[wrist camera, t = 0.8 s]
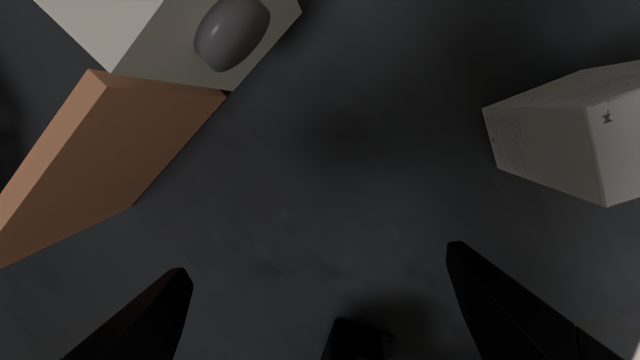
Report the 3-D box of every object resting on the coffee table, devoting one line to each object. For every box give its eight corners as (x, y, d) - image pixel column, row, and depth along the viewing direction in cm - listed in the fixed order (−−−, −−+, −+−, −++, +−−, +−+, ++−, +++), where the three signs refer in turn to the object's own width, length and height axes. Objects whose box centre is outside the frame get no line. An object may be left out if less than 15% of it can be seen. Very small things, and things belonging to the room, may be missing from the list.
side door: (227, 97, 25) (106, 86, 12) (130, 207, 28) (-43, 289, 15) (218, 88, 24) (88, 69, 12) (122, 200, 28) (-59, 276, 15)
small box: (495, 168, 25) (602, 212, 14) (478, 107, 23) (582, 107, 13) (594, 134, 23) (790, 156, 13) (582, 67, 22) (784, 34, 12)
